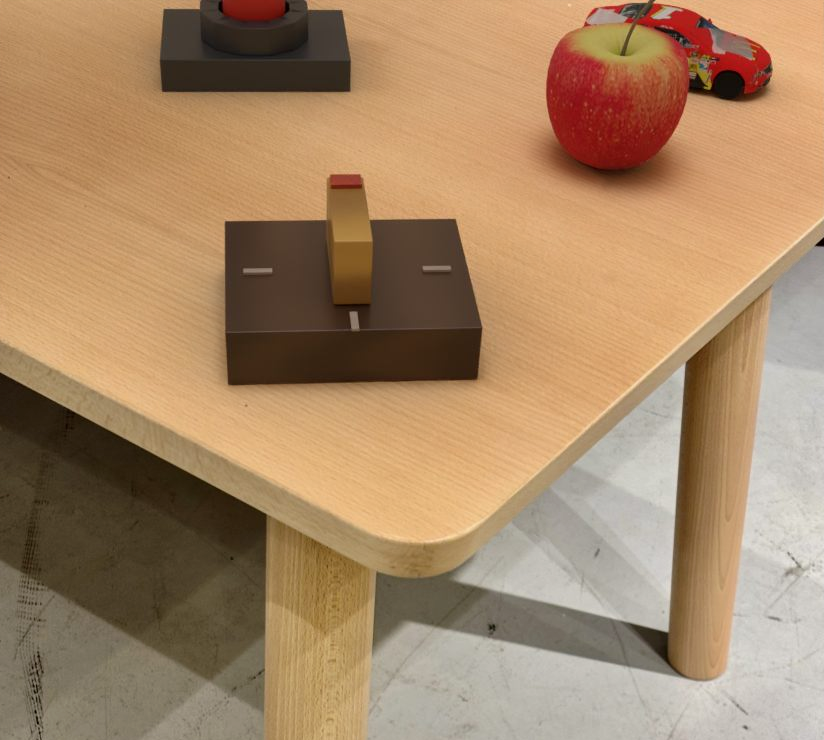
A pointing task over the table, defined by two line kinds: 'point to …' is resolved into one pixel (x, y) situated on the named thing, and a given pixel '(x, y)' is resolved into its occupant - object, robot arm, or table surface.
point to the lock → (349, 239)
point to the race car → (700, 46)
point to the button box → (254, 51)
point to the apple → (616, 92)
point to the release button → (254, 9)
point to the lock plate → (348, 306)
